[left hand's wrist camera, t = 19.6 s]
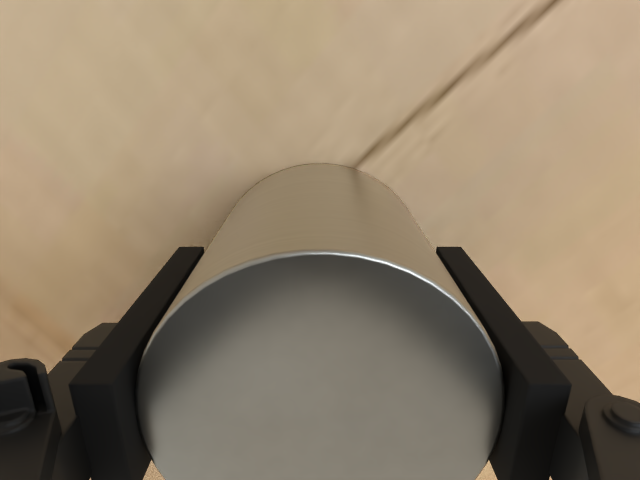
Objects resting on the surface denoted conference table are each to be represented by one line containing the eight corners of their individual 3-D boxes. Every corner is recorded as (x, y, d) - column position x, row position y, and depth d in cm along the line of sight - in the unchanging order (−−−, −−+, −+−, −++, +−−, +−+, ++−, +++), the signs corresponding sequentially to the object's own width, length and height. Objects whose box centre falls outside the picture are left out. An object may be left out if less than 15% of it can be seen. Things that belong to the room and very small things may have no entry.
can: (215, 157, 15) (112, 240, 7) (435, 168, 15) (546, 260, 7) (221, 345, 17) (149, 543, 10) (408, 353, 17) (471, 554, 10)
